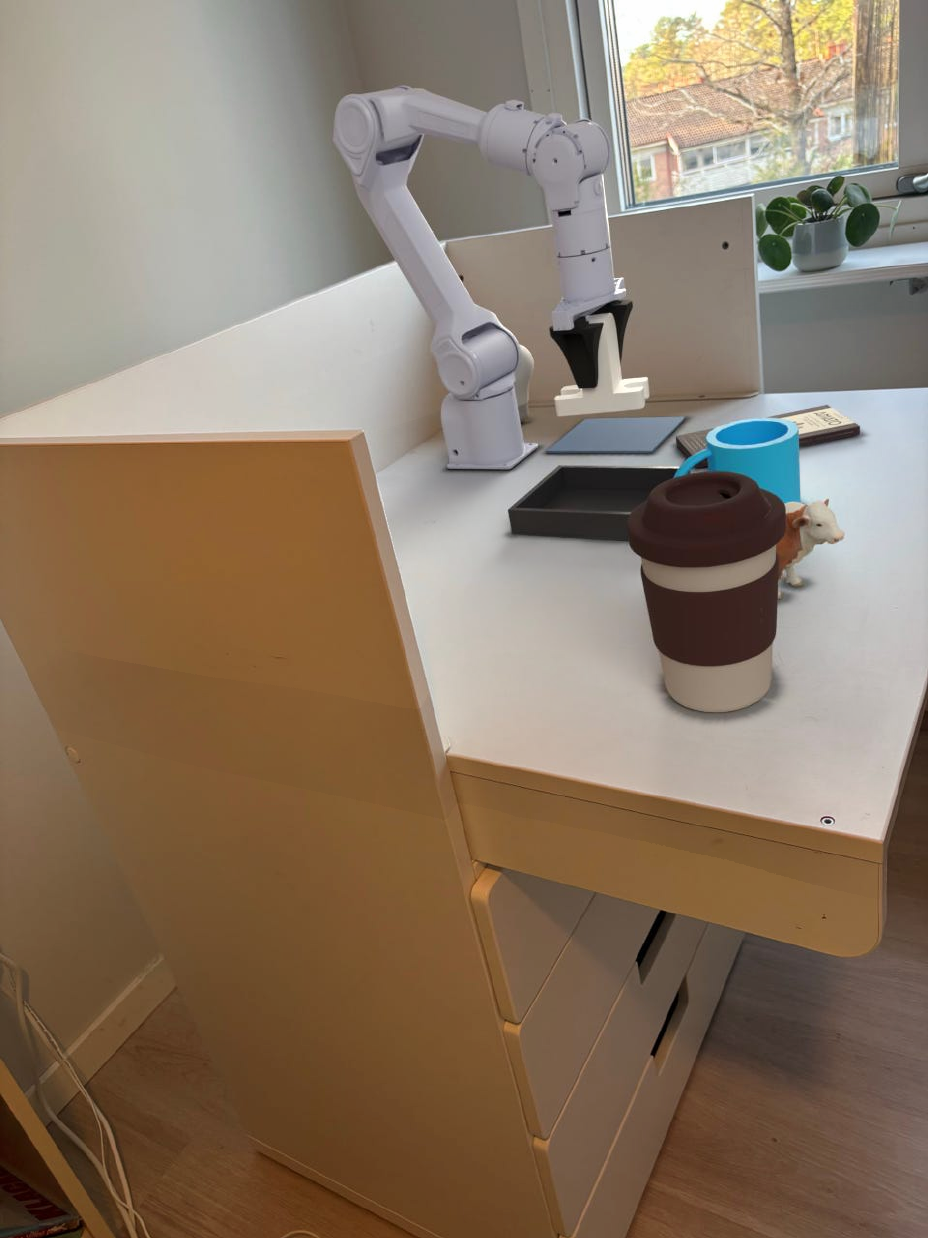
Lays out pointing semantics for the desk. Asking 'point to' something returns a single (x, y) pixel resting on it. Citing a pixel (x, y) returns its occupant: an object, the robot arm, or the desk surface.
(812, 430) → the chocolate bar
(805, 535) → the bull figurine
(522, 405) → the lightbulb
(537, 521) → the tray
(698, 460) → the mug
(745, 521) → the coffee cup
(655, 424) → the cloth
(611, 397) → the cable organizer
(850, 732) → the desk surface
